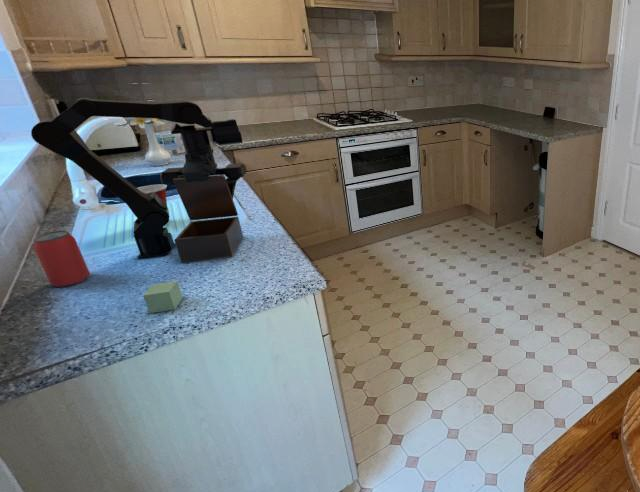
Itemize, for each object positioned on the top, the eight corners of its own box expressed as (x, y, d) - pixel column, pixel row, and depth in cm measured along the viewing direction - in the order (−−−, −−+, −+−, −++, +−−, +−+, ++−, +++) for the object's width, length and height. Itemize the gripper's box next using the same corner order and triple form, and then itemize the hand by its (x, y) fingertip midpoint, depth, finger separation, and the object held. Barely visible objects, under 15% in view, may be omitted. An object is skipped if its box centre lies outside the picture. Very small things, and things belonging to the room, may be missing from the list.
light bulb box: (167, 156, 201) (161, 134, 197) (158, 154, 204) (152, 133, 200) (190, 151, 211) (184, 130, 207) (181, 150, 213) (175, 129, 209)
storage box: (232, 256, 109) (226, 234, 106) (181, 263, 105) (174, 239, 102) (243, 237, 119) (238, 216, 117) (197, 242, 116) (191, 221, 113)
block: (149, 313, 85) (142, 295, 84) (158, 301, 89) (152, 284, 88) (175, 309, 87) (168, 291, 85) (182, 297, 91) (177, 280, 89)
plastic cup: (164, 215, 133) (153, 180, 129) (185, 220, 129) (174, 185, 125) (125, 227, 124) (111, 191, 119) (146, 234, 120) (132, 196, 116)
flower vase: (190, 162, 192) (175, 108, 183) (141, 170, 178) (121, 113, 169) (180, 157, 199) (165, 106, 190) (132, 165, 185) (113, 110, 176)
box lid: (223, 176, 109) (227, 167, 113) (172, 180, 105) (178, 170, 109) (237, 215, 116) (240, 206, 120) (190, 220, 113) (195, 210, 116)
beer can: (56, 291, 92) (33, 244, 88) (47, 282, 95) (26, 236, 91) (95, 278, 97) (75, 233, 93) (85, 270, 101) (67, 226, 96)
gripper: (142, 158, 99) (161, 216, 105) (230, 152, 105) (244, 208, 111) (160, 147, 109) (177, 201, 115) (240, 143, 115) (252, 194, 121)
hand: (213, 201), depth 115 cm, fingers open, 9 cm apart
